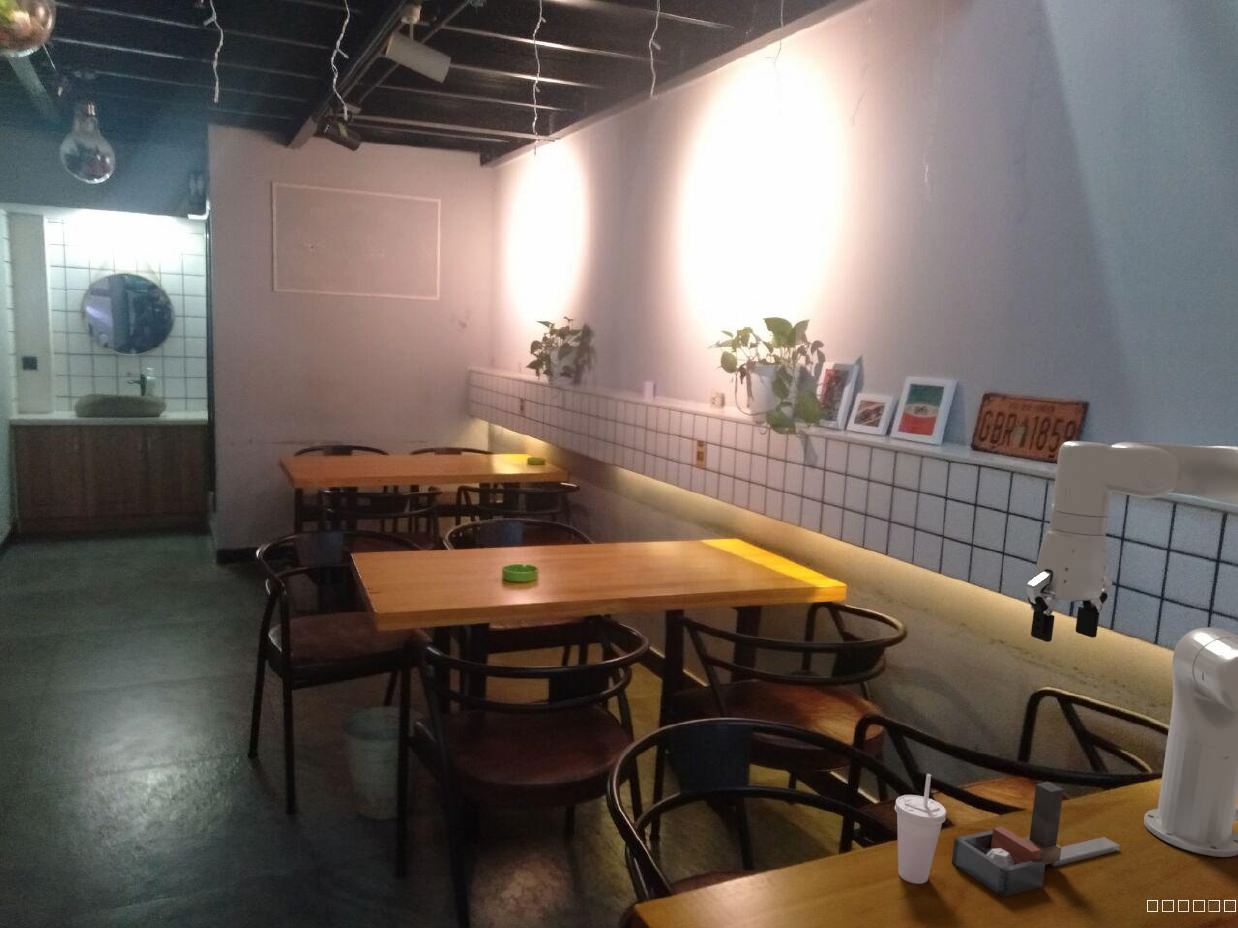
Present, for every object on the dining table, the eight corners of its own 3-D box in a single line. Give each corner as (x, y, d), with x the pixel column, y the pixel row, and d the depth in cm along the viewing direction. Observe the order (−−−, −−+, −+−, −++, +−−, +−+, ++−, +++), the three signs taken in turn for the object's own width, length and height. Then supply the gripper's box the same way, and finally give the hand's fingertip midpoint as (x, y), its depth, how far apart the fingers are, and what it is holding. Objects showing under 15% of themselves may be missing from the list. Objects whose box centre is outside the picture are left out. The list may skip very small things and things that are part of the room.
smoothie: (941, 893, 117) (954, 788, 115) (889, 884, 118) (901, 780, 116) (934, 867, 123) (946, 767, 121) (885, 858, 124) (896, 760, 123)
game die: (978, 869, 123) (980, 848, 123) (995, 863, 125) (998, 842, 125) (1000, 882, 120) (1003, 861, 120) (1018, 876, 122) (1021, 855, 122)
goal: (990, 853, 128) (993, 829, 127) (1042, 886, 120) (1045, 861, 120) (951, 862, 124) (954, 837, 124) (1002, 897, 117) (1005, 871, 116)
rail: (1103, 841, 133) (1104, 836, 133) (1118, 850, 131) (1119, 844, 131) (1038, 857, 127) (1039, 852, 127) (1053, 866, 125) (1054, 860, 125)
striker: (1029, 842, 129) (1037, 775, 128) (1068, 866, 124) (1077, 795, 123) (990, 851, 126) (998, 782, 125) (1029, 876, 120) (1038, 803, 119)
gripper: (1094, 519, 143) (1080, 626, 144) (1015, 520, 135) (1002, 633, 137) (1139, 528, 136) (1124, 640, 138) (1059, 530, 128) (1044, 648, 130)
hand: (1063, 636), depth 137 cm, fingers open, 9 cm apart
